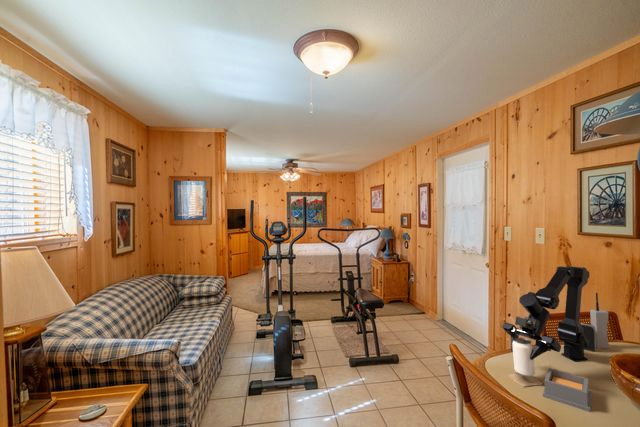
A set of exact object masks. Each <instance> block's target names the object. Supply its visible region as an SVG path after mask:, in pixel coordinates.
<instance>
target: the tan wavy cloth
mask: <svg viewBox="0 0 640 427" xmlns="http://www.w3.org/2000/svg"><path fill="white" fill-rule="evenodd" d="M506 376H507V377H509V378H510V379H511V380H512V381H514V382H516V383H517V384H518V385H520V386H521V387H523V388H526V387H537V386H543V385H544V383H542V382H541V381H540V380H538V379H536V378H535V377H533V376H524V375H521V374H519V373H517V372H516V373H507V374H506Z"/></svg>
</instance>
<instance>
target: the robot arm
mask: <svg viewBox="0 0 640 427" xmlns="http://www.w3.org/2000/svg"><path fill="white" fill-rule="evenodd" d="M589 278H590V271H589V270H587V268H586V267H582V266H579V267H578V266H570V265H566V266H562V265H560V266H557V267H556V269H555V273H554V274H553V275H552V276H551V278H550V280H549V282H548V283H547V284H546V286H545V287H543V288H540V289H538V290H537V291H536V292H533V291H528V293H525V294H523V295H521V296H520V297H519V299H518V300H519V303H520V304H521V306H522V307H523V308H524V310H525V311H526V312H527V314H528V316H525V317H520V316H516V318H515V322H514V323H515V324H512V323H511V322H510V323H509V322H503V324H502V325H501V328H502V330H504V331H505V333H506V334H507V335H509V336H510V351H511V353H513V345H512V343H513V341H514V340H513V339H514V338H517V337H519V336H522V337H523V338H526V339H529V340H534V341H535V345H534V347H533V351H532V353H531V355H530V359H531V360H533V359H534V360H535V359H536V358H538V357H539V356H541V355H542V354H545V353H547V352H551V351H555V352H557V353H560V352H561V349H562V345H561V344H560V342H562V343H563V352H562V353H561V354H560V355H561V356H563V357H565V358H566V359H570V360H572V361H573V362H582V361H585V362H586V361H589V358H587V357H585V349H584V347H585V348H588V345H589V340H588V339H587V337H586V336H585V335H584V329H583V327H582V326H581V324H580V323H581V322H580V317H581V316H580V315H581V314H580V313H581V307H582V306H581V305H582V304H581V303H582V290H583V288H584V287H585V286H586V285H587V284H588V283H589V282H588V280H589ZM566 285H567V286H566ZM565 286H566V298H565V299H566V300H565V310H564V318H563V320H561V321H559V322H558V323H557V324H558V325H557V326H558V327H557V328H556V329H557V330H556V332H557V336H558V339H559V340H557V338H555V337H553V336H550V335H547V334H543V332H546V327H545V326H546V324H547V321H548V320H549V319H552V315H551V313H550V311H549V310H556V309H557V308H558V306H559V304H560V297H559V295H561V294H560V293H561V292H562V290H563V289H564V288H565ZM548 309H549V310H548ZM517 326H519V327H518V328H517ZM519 338H520V337H519ZM559 341H560V342H559Z"/></svg>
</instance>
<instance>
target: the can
mask: <svg viewBox="0 0 640 427" xmlns="http://www.w3.org/2000/svg"><path fill="white" fill-rule="evenodd" d="M513 340H514V341H513V343H512V345H513V352H512V354H513V356H512V357H513V358H512V359H513V368H514V371H515V372H516V373H519V374H521V375H524V376H532V377H533V376H534V375H535V374H536V371H535V370H536V368H535V358H534V359H533V360H531V359H530V355H531V353H532V351H533V349H534V347H533V344H532V341H531V339H529V338H526V337H517V338H514V339H513Z"/></svg>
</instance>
